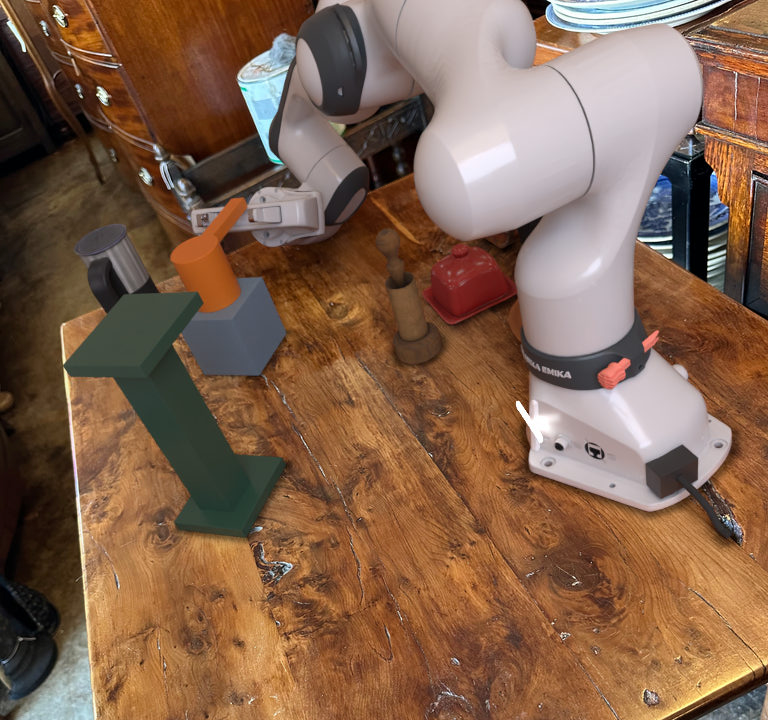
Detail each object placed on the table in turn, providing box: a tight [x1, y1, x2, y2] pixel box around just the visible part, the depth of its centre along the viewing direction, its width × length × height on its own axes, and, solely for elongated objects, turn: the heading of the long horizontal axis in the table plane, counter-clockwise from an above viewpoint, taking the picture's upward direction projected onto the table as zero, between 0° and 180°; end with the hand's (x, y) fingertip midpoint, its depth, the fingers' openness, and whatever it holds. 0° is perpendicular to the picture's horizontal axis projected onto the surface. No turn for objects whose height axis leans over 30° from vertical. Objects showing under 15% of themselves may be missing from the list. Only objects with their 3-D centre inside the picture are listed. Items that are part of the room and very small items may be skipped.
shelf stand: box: [62, 291, 287, 539], centre depth 90 cm, size 12×10×26 cm
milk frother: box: [73, 223, 161, 315], centre depth 130 cm, size 14×16×15 cm
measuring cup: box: [169, 197, 247, 313], centre depth 113 cm, size 17×7×8 cm, turn 160°
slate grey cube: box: [180, 276, 287, 377], centre depth 117 cm, size 10×10×10 cm
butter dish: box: [421, 243, 517, 325], centre depth 111 cm, size 12×12×8 cm
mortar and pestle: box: [375, 228, 443, 365], centre depth 102 cm, size 7×6×18 cm
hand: (224, 218), depth 113 cm, fingers open, 8 cm apart
